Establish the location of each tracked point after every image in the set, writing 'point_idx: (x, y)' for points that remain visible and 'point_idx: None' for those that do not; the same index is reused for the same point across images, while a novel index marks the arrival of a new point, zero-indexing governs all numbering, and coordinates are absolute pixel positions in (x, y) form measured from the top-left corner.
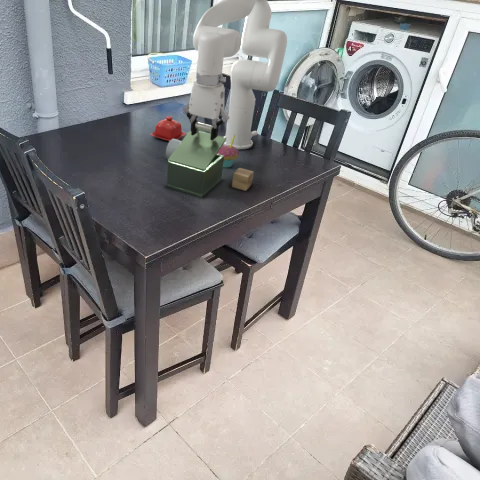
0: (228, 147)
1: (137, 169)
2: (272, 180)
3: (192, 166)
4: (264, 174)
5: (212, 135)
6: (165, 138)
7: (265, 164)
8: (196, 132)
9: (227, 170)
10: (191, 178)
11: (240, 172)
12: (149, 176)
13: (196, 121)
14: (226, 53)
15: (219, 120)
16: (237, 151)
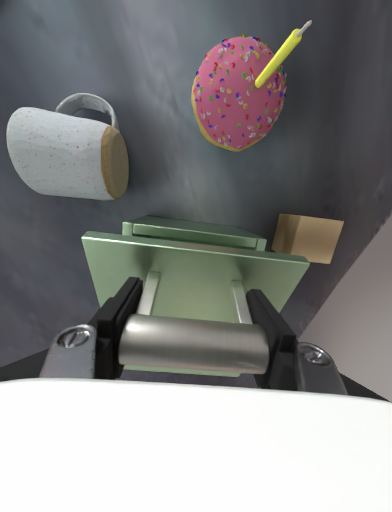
0: (251, 91)
1: (35, 269)
2: (367, 162)
3: (200, 373)
4: (346, 132)
5: None
6: None
7: (350, 42)
8: (141, 292)
9: (242, 158)
10: None
11: (307, 246)
12: (82, 287)
13: (110, 345)
14: None
15: (345, 389)
16: (283, 85)
